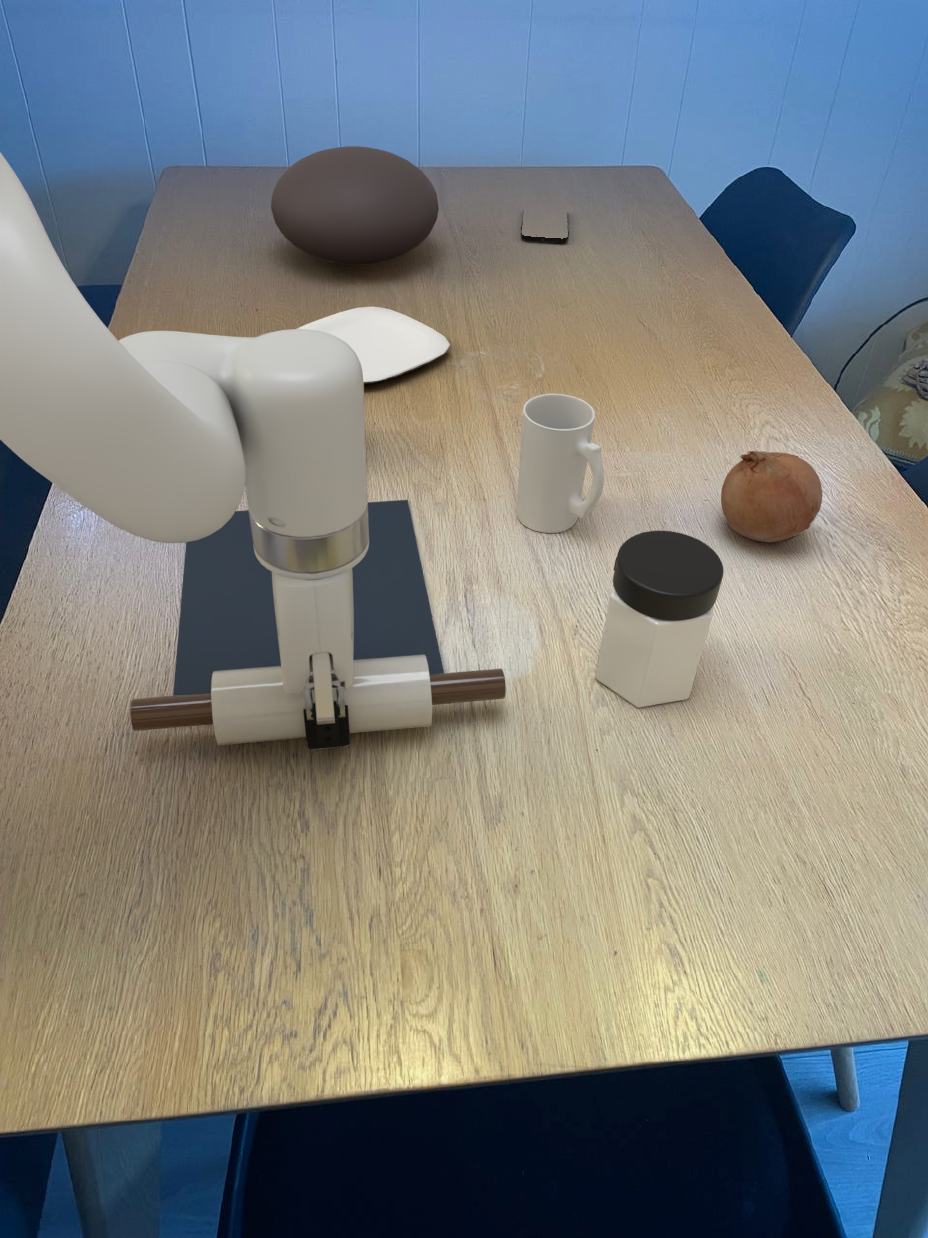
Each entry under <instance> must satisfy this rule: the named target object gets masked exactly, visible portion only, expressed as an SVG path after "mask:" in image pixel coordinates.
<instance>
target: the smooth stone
mask: <svg viewBox="0 0 928 1238" xmlns="http://www.w3.org/2000/svg"><path fill="white" fill-rule="evenodd" d="M270 209H271V213H272V217H273V221H274V223H275V225H276V227H277V228H278V231H280V234H282V235H283V237H284V238H285V239H287V241H288V242H290V243H291V244H292V245H293V246H294V247H296V248H297V249H299V250H300V251H302V252H304V253H305V254H307V255H309V256H311V257H314V258H317V259H319V260H322V261H327V262H331V263H333V264H340V265H348V266H362V265H363V266H364V265H365V266H366V265H373V264H379V263H385V262H387V261H391V260H394V259H397V258H399V257H402V256H404V255H406V254H407V253H409V252H411V251H412V250H414V249H415V248H417V247H419V245H421V243H423V241H425V240H426V239H427V238H428V237H429V235H430V234H431V232H432V230H433V229H434V227H435V225H436V222H437V220H438V215H439V210H440V209H439V201H438V194H437V191H436V189H435V187H434V185H433V182H431V180H430V179H429V178H428V176H427V175H426V174H425V173H424V172H423V170H421V169H420V168H419V167H418V166H416V165H415V164H413V163H412V162H410V161H409V160H408V159H406V158H405V157H401V156H400V155H397V154H395V153H392V152H391V151H387V150H383V149H380V148H379V149H378V148H373V147H368V146H359V145H358V146H357V145H355V146H354V145H352V146H351V145H350V146H348V145H347V146H338V147H333V148H327V149H323V150H319V151H317V152H313V153H311V154H309V155H307V156H305V157H303V158H301V159H299V160H297V161H296V162H295V163H293V164H292V165H291V166H289V167H288V168H287V169H286V170H285V171H284V172H283V174H282V175H281V176H280V178H278V180H277V181H276V183H275V186H274V188H273V191H272V195H271V202H270Z"/></svg>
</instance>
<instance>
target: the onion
mask: <svg viewBox="0 0 928 1238" xmlns="http://www.w3.org/2000/svg"><path fill="white" fill-rule="evenodd" d="M739 458H740V459H741V460H740V461H739V462H737V463H736V464H735V465H734V466H732V468H731V469H730V470H729V472H728V473H727V474H726V475H725V478H724V481H723V484H722V485H721V486H722V487H721V491H720V506H721V510H722V513H723V517H724V519H725V520H726V522H727V524H728V525H729V526H730V528H731V529H732V530H733V531H734V532H735V533H736V534H738V535H740V536H743V537H745V538H747V539H749V540H753V541H757V542H765V543H773V544H778V543H782V542H785V543H787V542H788V541H789V540H793V539H795V538H797V537H799V536H800V535H801V533H803V532H805V531H806V530H808V529H809V528H810V527H811V524H812V523H813V522H814V521H815V520H816V517H817V516H818V514H819V513H820V511H821V507H822V502H823V487H822V482H821V480H820V477H819V475H818V473H817V471H816V470H815V469H814V468H813V466H812V465H811V464H810V463H809V462H808V461H806V460H805V459H803V458H801V457H799V456H798V455H795V454H790V453H788V452H777V451H775V452H773V451H769V452H768V451H757V450H750V451H747V452H746V453H745V454H744V453H743V454H740V456H739Z"/></svg>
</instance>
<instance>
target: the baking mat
mask: <svg viewBox="0 0 928 1238" xmlns="http://www.w3.org/2000/svg"><path fill="white" fill-rule="evenodd" d="M368 524H369V548H368V551H367V553H366V555H365V556H364V558H363V559H362V560H361V561H360V562H359V563H358V564H357V565H355V566H354V567H353V568H352V575H353V604H354V652H353V660H358V659H370V658H383V657H396V656H408V655H421V654H425V656H426V659H427V663H428V668H429V674H441V673H445V672H444V671H445V670H444V667H443V662H442V661H443V660H442V657H441V652H440V648H439V642H438V638H437V633H436V629H435V624H434V623H435V622H434V619H433V613H432V610H431V606H430V599H429V595H428V590H427V586H426V581H425V576H424V572H423V565H422V563H421V557H420V552H419V547H418V542H417V538H416V534H415V529H414V523H413V519H412V514H411V510H410V504H409V500H408V499H399V500H384V501H368ZM270 666H281V660H280V651H279V642H278V633H277V625H276V616H275V607H274V597H273V585H272V571H270V570H268V569H267V568H265V567H264V566H263V565H262V564H261V563H260V562H259V560H258V559H257V557H256V555H255V552H254V546H253V539H252V532H251V525H250V518H249V511H248V509H246V510H236V511H235V513H234V514H233V516H232V517H231V519H230V520H229V521H228V522H227V523H226V524H225V525H224V526H223V527H222V528H220V529H219V530H217V531H216V532H214V533H213V534H211V535H209V536H207V537H204V538H202V539H199V540H196V541H190V542H185V552H184V564H183V575H182V586H181V597H180V610H179V623H178V634H177V645H176V658H175V669H174V670H175V671H174V682H173V693H172V696H175V695H187V694H199V693H211V682H212V674H213V672H214V671H219V670H232V669H244V668H257V667H270Z"/></svg>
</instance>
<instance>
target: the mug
mask: <svg viewBox="0 0 928 1238" xmlns="http://www.w3.org/2000/svg"><path fill="white" fill-rule="evenodd" d="M522 408H523V409H522V421H521V422H522V423H521V432H520V433H521V434H520V450H519V462H518V463H519V465H518V478H517V498H516V499H517V500H516V516H517V519H518V520H519V521H520V523H521V524H522V525H524V526H525V527H526V528H528V529H529V530H533V531H535V532H539V533H544V534H556V533H557V534H558V533H561V532H562V533H563V532H565V531H567V530H569V529H571V528H572V527H573V526H574V525H575V524H576V522H577V520H578V518H580V519H585V518H587V517H589V516H590V515H591V513H592V512H593V510H594V508H595V507H596V505H597V504H598V502H599V500H600V498H601V497H602V493H603V490H604V484H605V483H604V482H605V481H604V480H605V473H604V472H605V471H604V464H603V458H602V446H601V445H599V444H597V443H595V442H592V439H593V432H594V424H595V418H596V411H595V409H594V408H593V406H591V405H590V404H589V403H588V402H587V401H585V400H583V399H582V398H579V397H576V396H574V395H569V394H563V393H545V394H544V393H543V394H540V395H536V396H533V397H532V398H529V399H528V400H527V401H526V402H524V405H523V407H522ZM588 465H589V467H590V471H591V475H592V483H591V488H590V491H589V493H588V495H587V497H586V499H585V500H584V499H582V495H583V491H584V484H585V477H586V471H587V466H588Z"/></svg>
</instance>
